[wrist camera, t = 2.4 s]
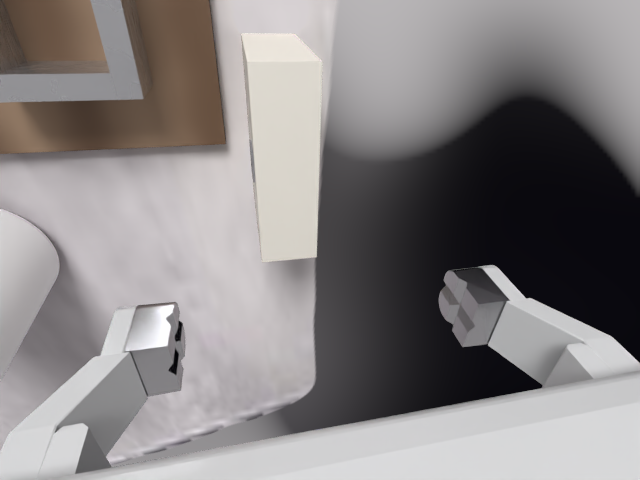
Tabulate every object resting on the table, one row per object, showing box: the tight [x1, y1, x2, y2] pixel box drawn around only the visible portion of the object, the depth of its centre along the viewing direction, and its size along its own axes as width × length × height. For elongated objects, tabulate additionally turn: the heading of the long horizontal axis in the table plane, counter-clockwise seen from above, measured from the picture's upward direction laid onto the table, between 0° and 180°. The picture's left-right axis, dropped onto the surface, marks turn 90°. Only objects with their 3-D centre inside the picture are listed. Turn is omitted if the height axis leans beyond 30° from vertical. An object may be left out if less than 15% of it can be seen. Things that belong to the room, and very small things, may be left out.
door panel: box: [241, 33, 323, 262], centre depth 21 cm, size 3×10×8 cm, turn 179°
